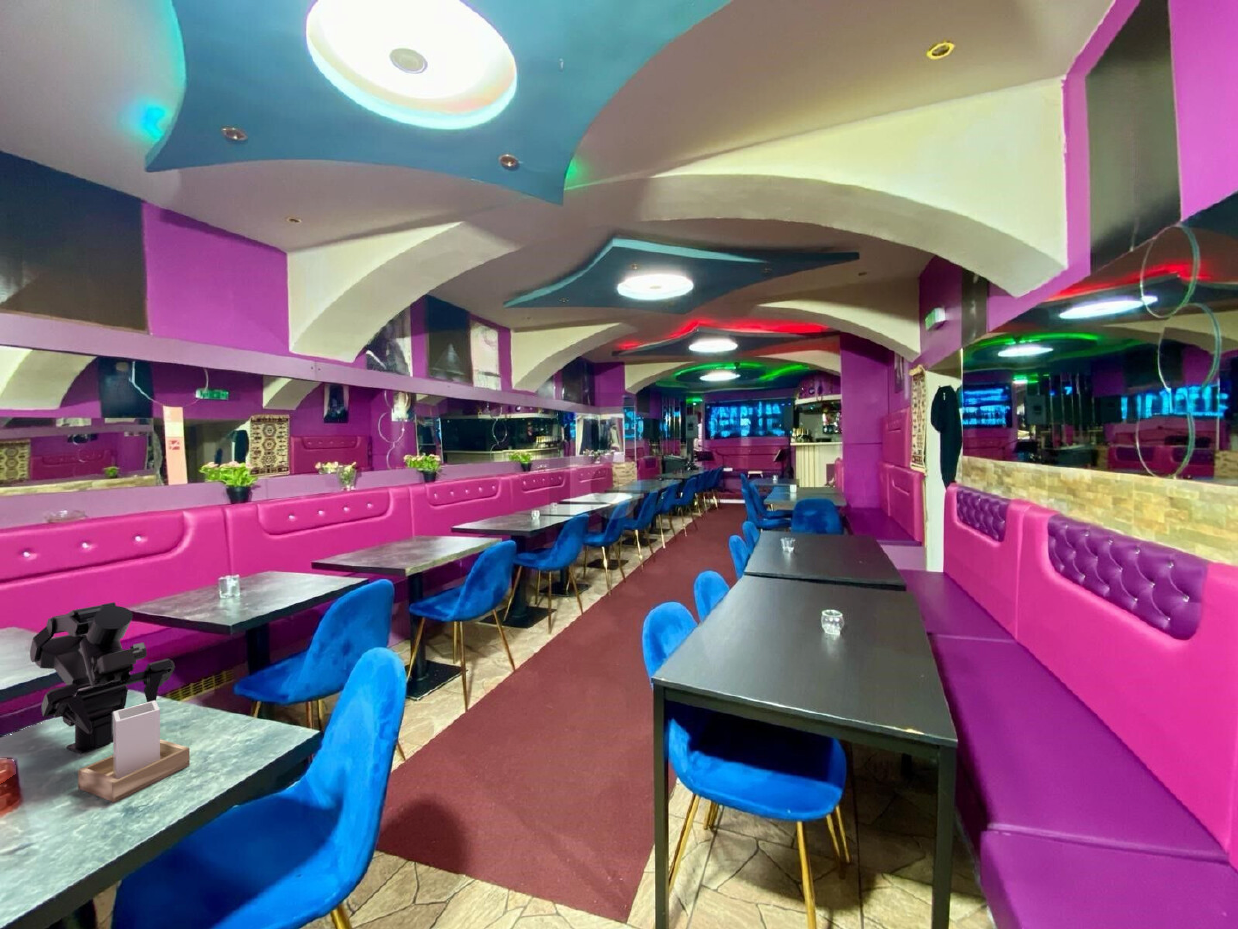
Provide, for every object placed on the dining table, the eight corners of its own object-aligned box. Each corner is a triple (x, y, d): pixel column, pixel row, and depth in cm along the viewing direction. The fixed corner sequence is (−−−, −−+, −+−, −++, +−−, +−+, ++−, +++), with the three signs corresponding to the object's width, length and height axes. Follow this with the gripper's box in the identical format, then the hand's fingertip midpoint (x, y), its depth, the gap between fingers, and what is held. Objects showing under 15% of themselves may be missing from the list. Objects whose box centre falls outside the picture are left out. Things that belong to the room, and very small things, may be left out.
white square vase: (113, 773, 95) (113, 711, 95) (155, 759, 100) (155, 700, 100) (116, 786, 91) (116, 722, 91) (160, 770, 96) (159, 709, 96)
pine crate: (78, 788, 92) (78, 769, 92) (154, 754, 103) (154, 737, 103) (114, 802, 88) (114, 783, 88) (189, 765, 99) (189, 748, 99)
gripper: (45, 649, 93) (62, 722, 88) (171, 622, 109) (192, 682, 104) (34, 681, 97) (50, 753, 92) (157, 650, 113) (177, 709, 108)
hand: (122, 721), depth 99 cm, fingers open, 9 cm apart
